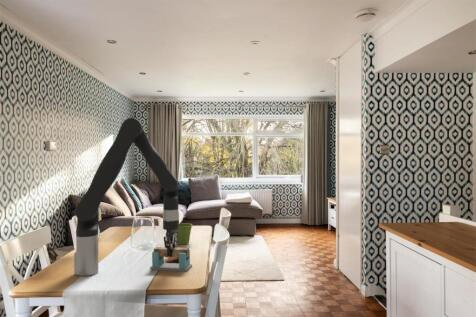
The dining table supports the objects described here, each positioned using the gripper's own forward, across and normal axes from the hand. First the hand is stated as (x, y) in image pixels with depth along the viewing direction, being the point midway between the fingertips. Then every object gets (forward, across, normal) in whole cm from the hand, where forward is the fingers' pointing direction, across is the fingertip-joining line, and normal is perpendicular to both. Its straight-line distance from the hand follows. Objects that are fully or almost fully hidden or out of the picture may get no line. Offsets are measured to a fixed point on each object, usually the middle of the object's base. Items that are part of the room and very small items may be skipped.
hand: (171, 255), depth 171 cm
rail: (+1, 0, 0) cm, 1 cm away
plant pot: (+6, -48, -10) cm, 49 cm away
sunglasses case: (+7, -15, -3) cm, 16 cm away
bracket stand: (+6, 0, 0) cm, 6 cm away
